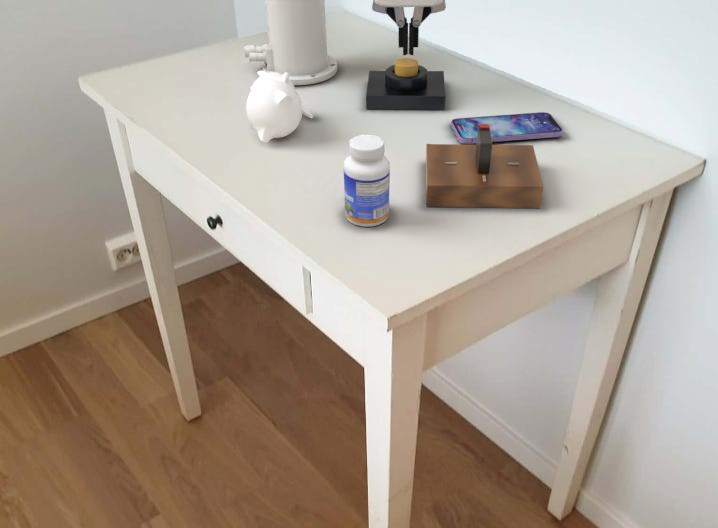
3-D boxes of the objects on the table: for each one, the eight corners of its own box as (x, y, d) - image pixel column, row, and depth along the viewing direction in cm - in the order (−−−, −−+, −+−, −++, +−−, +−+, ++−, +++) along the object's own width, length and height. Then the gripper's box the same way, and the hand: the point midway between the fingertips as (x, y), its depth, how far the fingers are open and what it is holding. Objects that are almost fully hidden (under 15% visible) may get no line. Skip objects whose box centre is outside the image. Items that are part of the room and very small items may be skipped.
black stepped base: (366, 109, 112) (365, 83, 109) (369, 84, 119) (369, 59, 116) (444, 110, 111) (446, 84, 108) (443, 84, 118) (444, 59, 116)
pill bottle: (344, 206, 91) (340, 132, 84) (387, 203, 91) (387, 129, 84) (346, 229, 87) (343, 154, 80) (391, 227, 87) (392, 151, 80)
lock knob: (489, 173, 90) (492, 141, 87) (477, 173, 90) (480, 141, 87) (486, 154, 94) (489, 123, 91) (475, 154, 94) (478, 123, 91)
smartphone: (449, 118, 107) (548, 111, 108) (449, 124, 107) (547, 117, 109) (461, 139, 101) (565, 131, 103) (460, 146, 102) (564, 138, 103)
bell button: (394, 78, 111) (394, 66, 110) (394, 69, 114) (395, 57, 113) (417, 78, 111) (418, 66, 110) (417, 69, 114) (418, 58, 113)
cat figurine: (260, 49, 105) (263, 78, 96) (324, 84, 110) (333, 115, 101) (235, 102, 109) (235, 134, 100) (297, 133, 114) (303, 167, 105)
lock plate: (426, 206, 90) (427, 184, 88) (425, 164, 98) (426, 142, 96) (540, 208, 90) (543, 185, 87) (530, 165, 98) (533, 143, 96)
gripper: (352, -81, 96) (357, 61, 108) (467, -83, 95) (458, 61, 107) (356, -93, 101) (360, 44, 114) (464, -95, 100) (456, 43, 113)
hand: (408, 51), depth 110 cm, fingers closed
